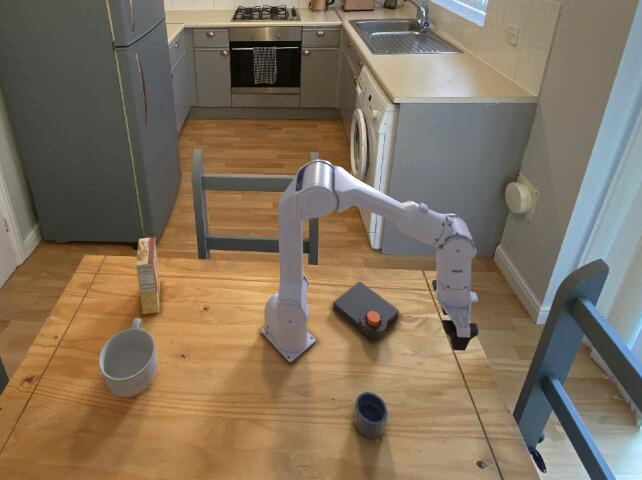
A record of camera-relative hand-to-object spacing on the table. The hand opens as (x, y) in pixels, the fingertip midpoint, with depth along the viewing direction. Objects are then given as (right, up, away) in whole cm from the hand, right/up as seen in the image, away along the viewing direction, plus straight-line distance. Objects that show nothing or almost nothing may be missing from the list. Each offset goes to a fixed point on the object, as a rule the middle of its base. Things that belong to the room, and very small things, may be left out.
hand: (453, 330), depth 82 cm
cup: (-18, -14, -5) cm, 24 cm away
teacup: (-64, -11, +5) cm, 65 cm away
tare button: (-12, -4, +10) cm, 17 cm away
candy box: (-64, -4, +21) cm, 67 cm away
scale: (-12, -5, +16) cm, 21 cm away
